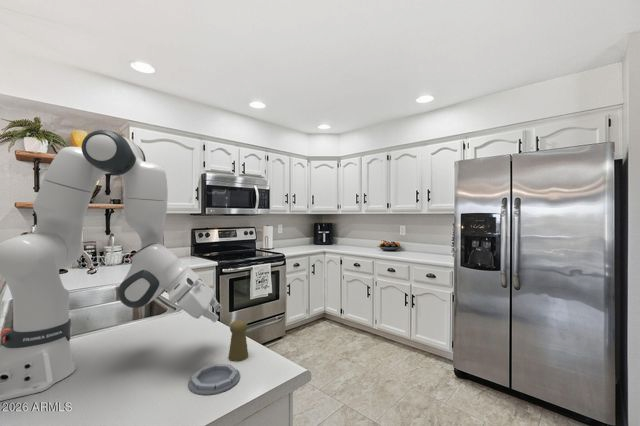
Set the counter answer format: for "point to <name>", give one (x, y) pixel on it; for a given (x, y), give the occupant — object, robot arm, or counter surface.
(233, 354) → the olive brown pepper mill
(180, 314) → the counter surface
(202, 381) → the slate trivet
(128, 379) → the counter surface
